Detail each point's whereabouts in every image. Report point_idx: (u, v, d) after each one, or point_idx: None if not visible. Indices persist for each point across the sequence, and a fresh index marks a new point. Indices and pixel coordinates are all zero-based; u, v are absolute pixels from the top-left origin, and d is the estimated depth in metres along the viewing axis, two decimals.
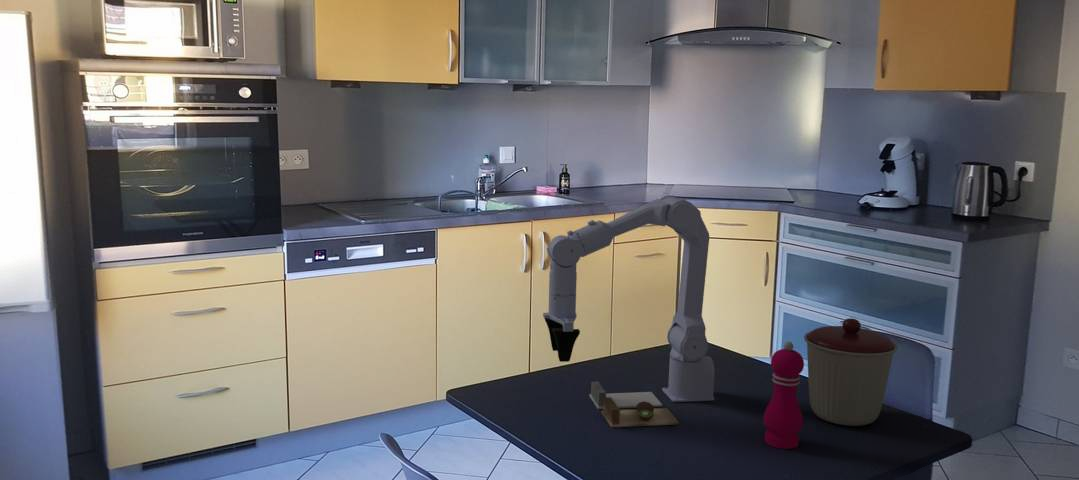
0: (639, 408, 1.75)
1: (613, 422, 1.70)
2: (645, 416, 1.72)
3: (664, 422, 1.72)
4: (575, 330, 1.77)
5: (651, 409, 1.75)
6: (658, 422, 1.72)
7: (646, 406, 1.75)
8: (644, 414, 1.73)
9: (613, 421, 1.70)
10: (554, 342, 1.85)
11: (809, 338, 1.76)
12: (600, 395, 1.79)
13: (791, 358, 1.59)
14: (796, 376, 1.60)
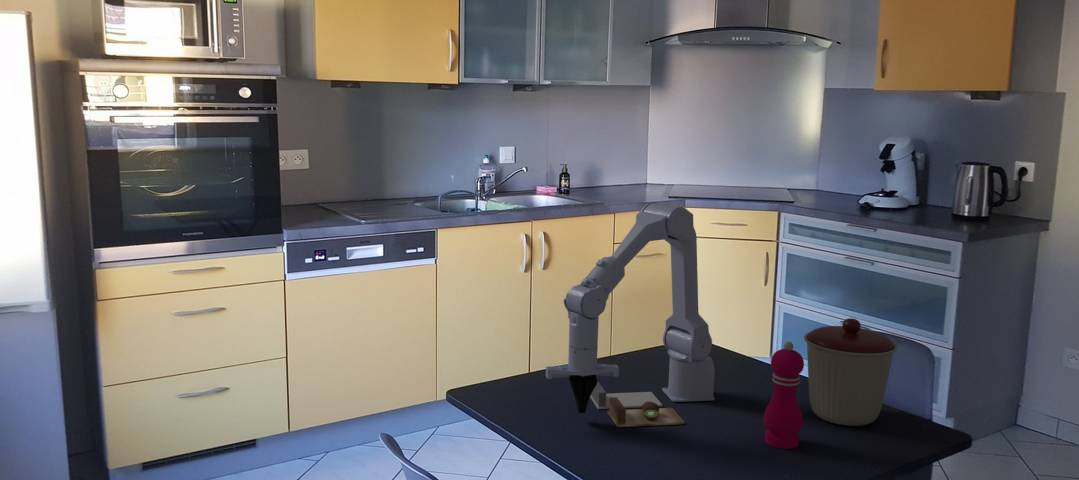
0: (645, 408, 1.75)
1: (619, 422, 1.70)
2: (651, 416, 1.72)
3: (670, 422, 1.72)
4: (576, 381, 1.69)
5: (657, 409, 1.75)
6: (664, 422, 1.72)
7: (652, 406, 1.75)
8: (650, 414, 1.73)
9: (619, 421, 1.70)
10: None
11: (809, 338, 1.76)
12: (600, 395, 1.79)
13: (791, 358, 1.59)
14: (796, 376, 1.60)
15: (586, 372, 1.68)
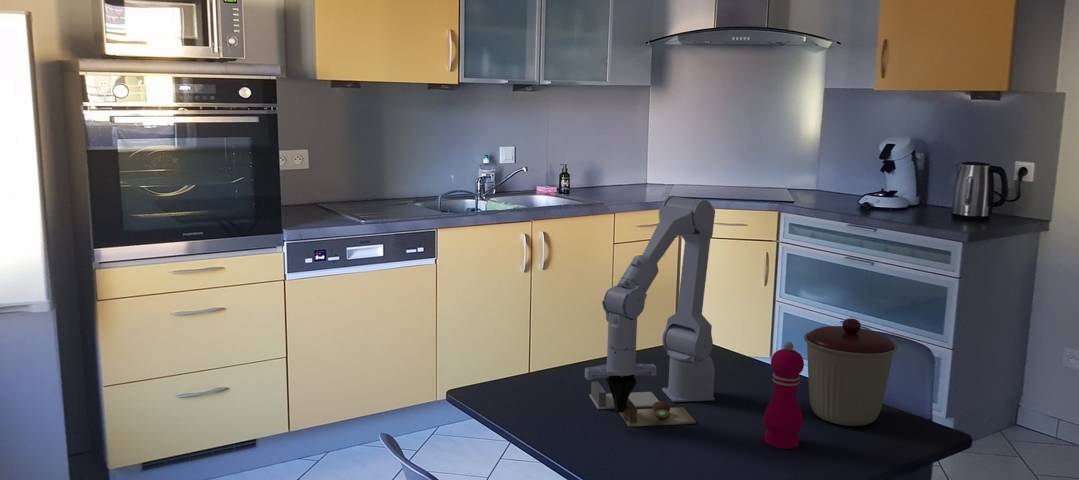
0: (655, 408, 1.75)
1: (631, 421, 1.71)
2: (662, 416, 1.72)
3: (681, 421, 1.72)
4: (616, 381, 1.70)
5: (667, 409, 1.75)
6: (675, 421, 1.72)
7: (663, 405, 1.75)
8: (661, 414, 1.73)
9: (631, 420, 1.71)
10: None
11: (809, 338, 1.76)
12: (600, 395, 1.79)
13: (791, 358, 1.59)
14: (796, 376, 1.60)
15: (626, 372, 1.69)
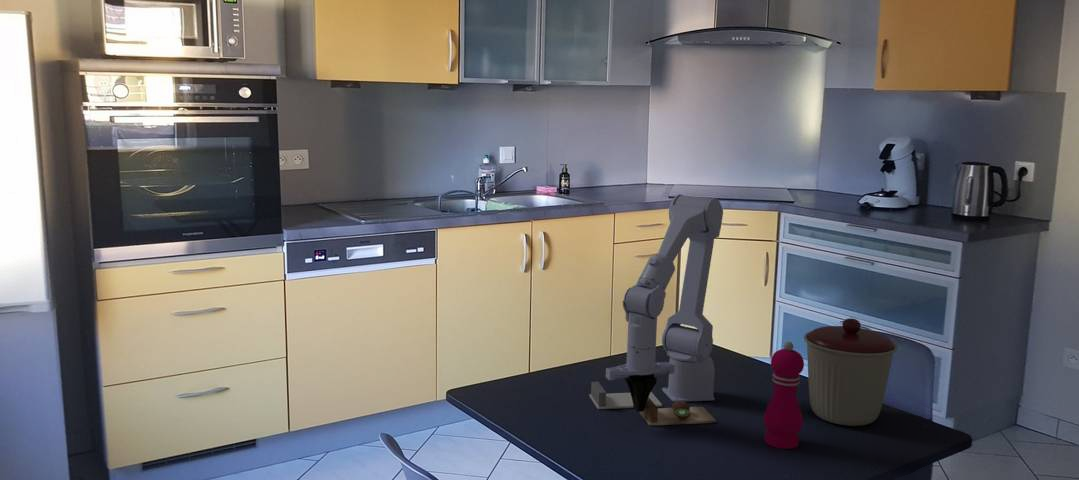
0: (675, 407, 1.76)
1: (652, 420, 1.72)
2: (682, 415, 1.73)
3: (701, 420, 1.73)
4: (637, 381, 1.71)
5: (687, 408, 1.76)
6: (696, 420, 1.73)
7: (682, 405, 1.76)
8: (681, 413, 1.74)
9: (651, 419, 1.71)
10: None
11: (809, 338, 1.76)
12: (600, 395, 1.79)
13: (791, 358, 1.59)
14: (796, 376, 1.60)
15: (648, 371, 1.70)
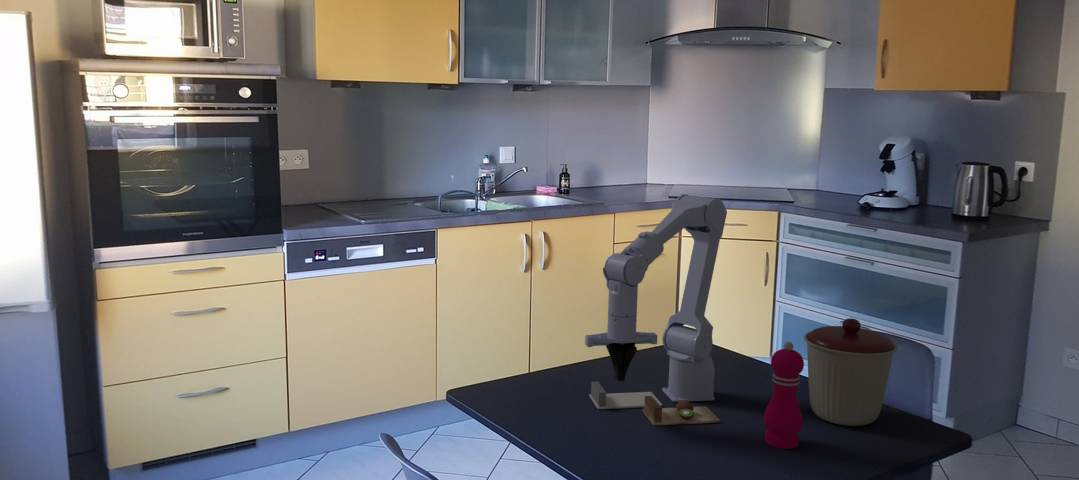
0: (679, 407, 1.76)
1: (656, 420, 1.72)
2: (686, 415, 1.73)
3: (706, 420, 1.73)
4: (616, 349, 1.70)
5: (691, 408, 1.76)
6: (700, 420, 1.73)
7: (686, 405, 1.76)
8: (685, 413, 1.74)
9: (655, 419, 1.72)
10: None
11: (809, 338, 1.76)
12: (600, 395, 1.79)
13: (791, 358, 1.59)
14: (796, 376, 1.60)
15: (626, 339, 1.69)
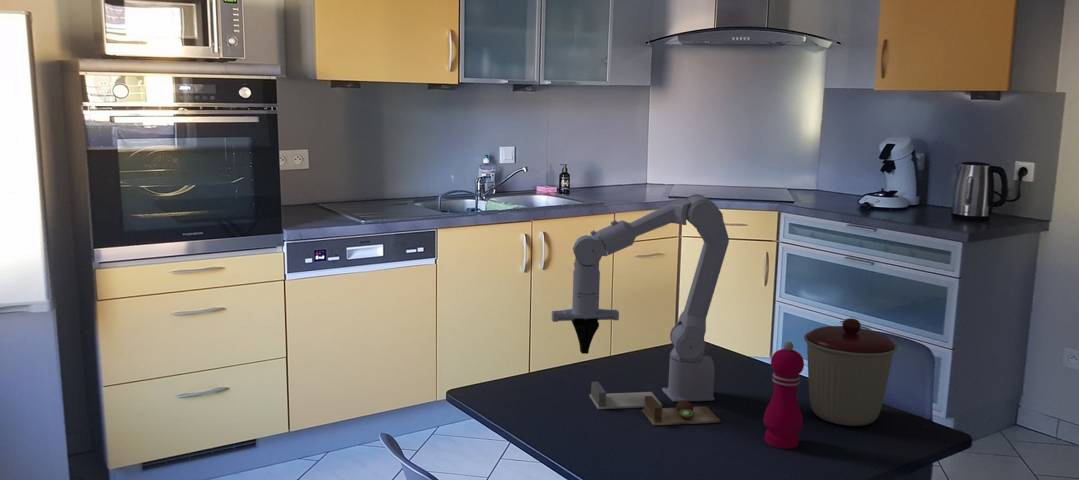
0: (679, 408, 1.76)
1: (656, 420, 1.72)
2: (686, 415, 1.73)
3: (706, 420, 1.73)
4: (580, 324, 1.84)
5: (691, 408, 1.75)
6: (700, 420, 1.73)
7: (686, 405, 1.75)
8: (685, 413, 1.73)
9: (655, 419, 1.72)
10: None
11: (809, 338, 1.76)
12: (600, 395, 1.79)
13: (791, 358, 1.59)
14: (796, 376, 1.60)
15: (589, 315, 1.83)
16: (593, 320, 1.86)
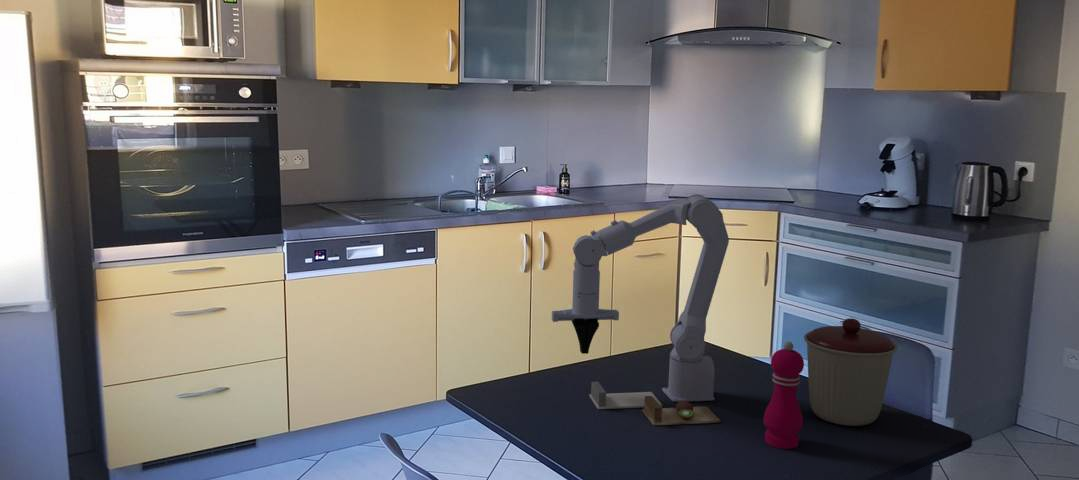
0: (679, 408, 1.76)
1: (656, 420, 1.72)
2: (686, 416, 1.73)
3: (706, 420, 1.73)
4: (580, 324, 1.84)
5: (691, 408, 1.75)
6: (700, 420, 1.73)
7: (686, 405, 1.75)
8: (685, 414, 1.73)
9: (655, 419, 1.72)
10: None
11: (809, 338, 1.76)
12: (600, 395, 1.79)
13: (791, 358, 1.59)
14: (796, 376, 1.60)
15: (589, 315, 1.83)
16: (593, 320, 1.86)
